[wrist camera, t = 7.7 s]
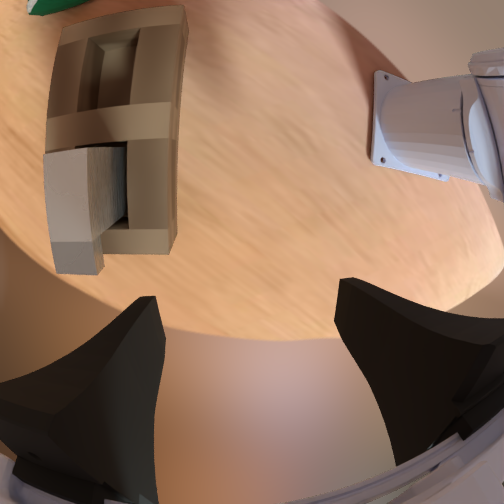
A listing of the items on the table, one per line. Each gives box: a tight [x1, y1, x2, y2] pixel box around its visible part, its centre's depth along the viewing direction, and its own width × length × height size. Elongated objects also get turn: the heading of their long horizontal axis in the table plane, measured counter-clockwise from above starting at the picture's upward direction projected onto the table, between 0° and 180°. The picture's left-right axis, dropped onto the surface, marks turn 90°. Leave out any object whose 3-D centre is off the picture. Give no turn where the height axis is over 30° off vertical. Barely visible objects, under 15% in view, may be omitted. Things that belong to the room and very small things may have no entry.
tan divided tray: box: [45, 5, 189, 255], centre depth 14 cm, size 8×15×4 cm, turn 176°
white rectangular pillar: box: [43, 147, 128, 275], centre depth 13 cm, size 2×6×7 cm, turn 176°
